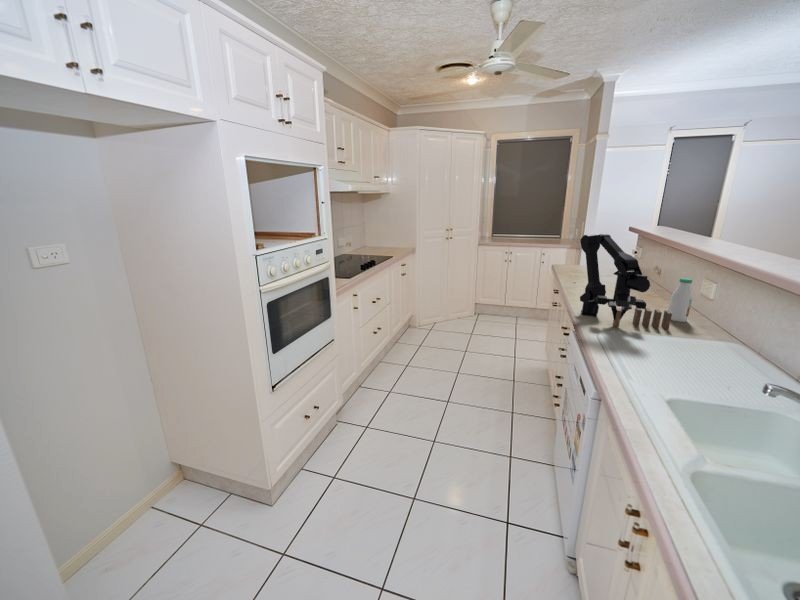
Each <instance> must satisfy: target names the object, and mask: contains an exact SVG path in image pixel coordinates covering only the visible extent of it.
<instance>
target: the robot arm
mask: <svg viewBox="0 0 800 600" xmlns="http://www.w3.org/2000/svg"><path fill="white" fill-rule="evenodd" d="M579 243H580V247H581V250H582V251H583V252H584V253H585V260H586V270H587V271H586V273H587V284H586V286H585V288H584V293H583V294H582V295H580V296H579V299H580V302H582V307H581V310H580V311H581V315H583V316H590V317H591V316H592V317H597V315H598V313H599V310H600V309H599V308H600V307H599V305H604V306H605V305H607V306H608V307H609V308H611V313H612V318H613V321H614V320H615V318H616V308H617V307H618V308H620V310H621V311H622V312H621V318H620V321H622V320H621V319H622V318H623V317H624V315H625V314H626V312H627V311H628V310H632V309H633V308H632V307H633V306H635V308H636V307H637V308H639V309H641V310H645V309H646V308H647V302H646V301H645V300H644V299H638V298H637V296H633V295H631V290H633V291H636V292H638V293H639V292H640V293H646V292H648V291H649V289H650V286H651V283H650V280H649V279H648V275H643V273H642V270H641V267H640V265H639V261H638V259H637V258H636V257H634V256H633V255H631V254H628V253H626V252H625V251H623V249H622V248H621V247H620V246H619V245H618V244H617V242H616V241H615V240H614V239H613V238H612V237H611V235H610V234H608V233H600V234H584V235H582V236H581V238H580V240H579ZM601 246H602V247H603V248H604V250H605V251H606V252H607V253H608V254H609V256H610V257H611V258H612V260H613V264H614V266H615V268H616V269H617V271H615V272H613V275H615V276H616V282H615V287H614V292H613V297H612V298H608V297H607V296H606V294H607V291H606V290H607V289H606V285H605V284H602V283H601V281H600V280H601V279H600V271H599V270H600V269H599V260H598V258H599V257H598V251H599V250H600V247H601Z"/></svg>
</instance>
